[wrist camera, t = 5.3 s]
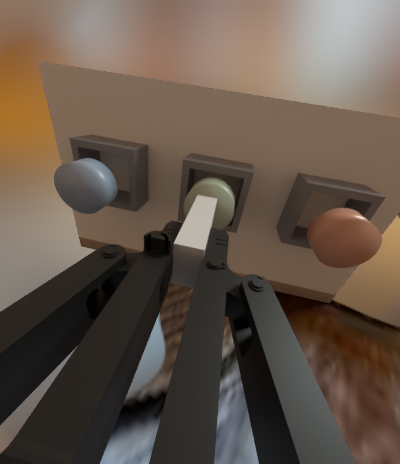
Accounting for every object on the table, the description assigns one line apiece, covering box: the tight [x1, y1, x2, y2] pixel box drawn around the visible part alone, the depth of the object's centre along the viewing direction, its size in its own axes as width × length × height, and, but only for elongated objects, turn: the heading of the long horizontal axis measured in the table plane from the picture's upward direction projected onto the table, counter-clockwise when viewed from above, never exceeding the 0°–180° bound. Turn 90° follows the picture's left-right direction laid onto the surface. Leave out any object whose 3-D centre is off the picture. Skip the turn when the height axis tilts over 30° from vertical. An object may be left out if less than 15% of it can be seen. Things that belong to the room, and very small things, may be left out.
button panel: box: [38, 61, 400, 303], centre depth 23 cm, size 11×34×20 cm, turn 80°
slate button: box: [54, 158, 117, 214], centre depth 16 cm, size 2×4×4 cm, turn 80°
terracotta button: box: [307, 208, 382, 268], centre depth 14 cm, size 2×4×4 cm, turn 80°
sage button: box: [184, 177, 235, 230], centre depth 16 cm, size 2×4×4 cm, turn 80°
